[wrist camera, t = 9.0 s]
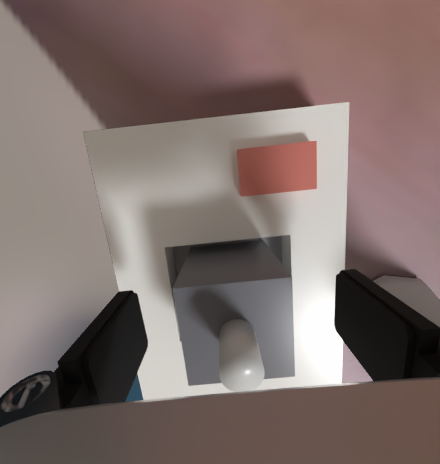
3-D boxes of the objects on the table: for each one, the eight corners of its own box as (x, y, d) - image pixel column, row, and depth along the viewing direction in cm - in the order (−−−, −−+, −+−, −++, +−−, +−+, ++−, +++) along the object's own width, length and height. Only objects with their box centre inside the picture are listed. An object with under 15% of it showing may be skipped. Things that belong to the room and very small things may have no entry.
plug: (190, 247, 15) (159, 317, 7) (263, 240, 15) (312, 303, 7) (199, 311, 16) (181, 434, 8) (266, 305, 16) (313, 423, 8)
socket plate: (110, 142, 14) (74, 128, 11) (322, 119, 14) (357, 96, 10) (156, 367, 18) (140, 413, 15) (321, 352, 18) (347, 395, 14)
